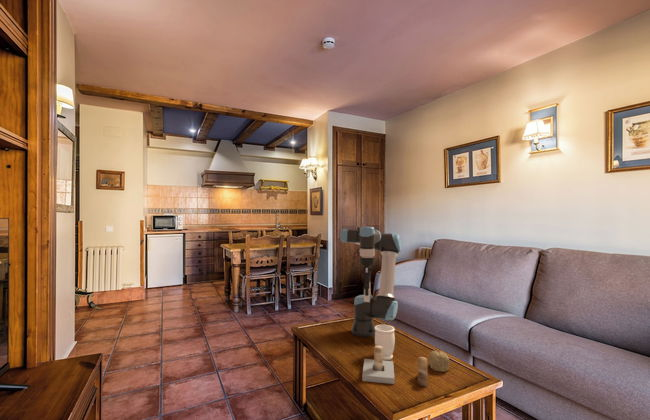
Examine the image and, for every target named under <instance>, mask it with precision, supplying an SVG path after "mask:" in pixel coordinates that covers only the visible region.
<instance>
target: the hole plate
mask: <svg viewBox="0 0 650 420" xmlns="http://www.w3.org/2000/svg"><path fill="white" fill-rule="evenodd" d="M361 377H362V382H369V383H370V382H372V383H380V384H389V385H390V384H391V385H395V368H394V361H393V360H383V371H375V370H374V359H370V358H364V359H363V367H362V375H361Z"/></svg>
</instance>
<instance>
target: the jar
mask: <svg viewBox="0 0 650 420" xmlns="http://www.w3.org/2000/svg"><path fill="white" fill-rule="evenodd" d="M374 326H375V330H376V332H375V335H374V344H375V346H381V347H383V360H384V361H391V360H392V359H393V357H394V355H393V352H394V350H395V345H396V343H395V342H396V339H395V338H396V337H395V331H396V329H395V327H394V326H392V325H389V324H377V325H374Z"/></svg>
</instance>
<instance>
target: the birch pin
mask: <svg viewBox="0 0 650 420" xmlns="http://www.w3.org/2000/svg"><path fill="white" fill-rule="evenodd" d="M373 360H374V370H375V371H383V347H381V346H376V345H375V346H373Z"/></svg>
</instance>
